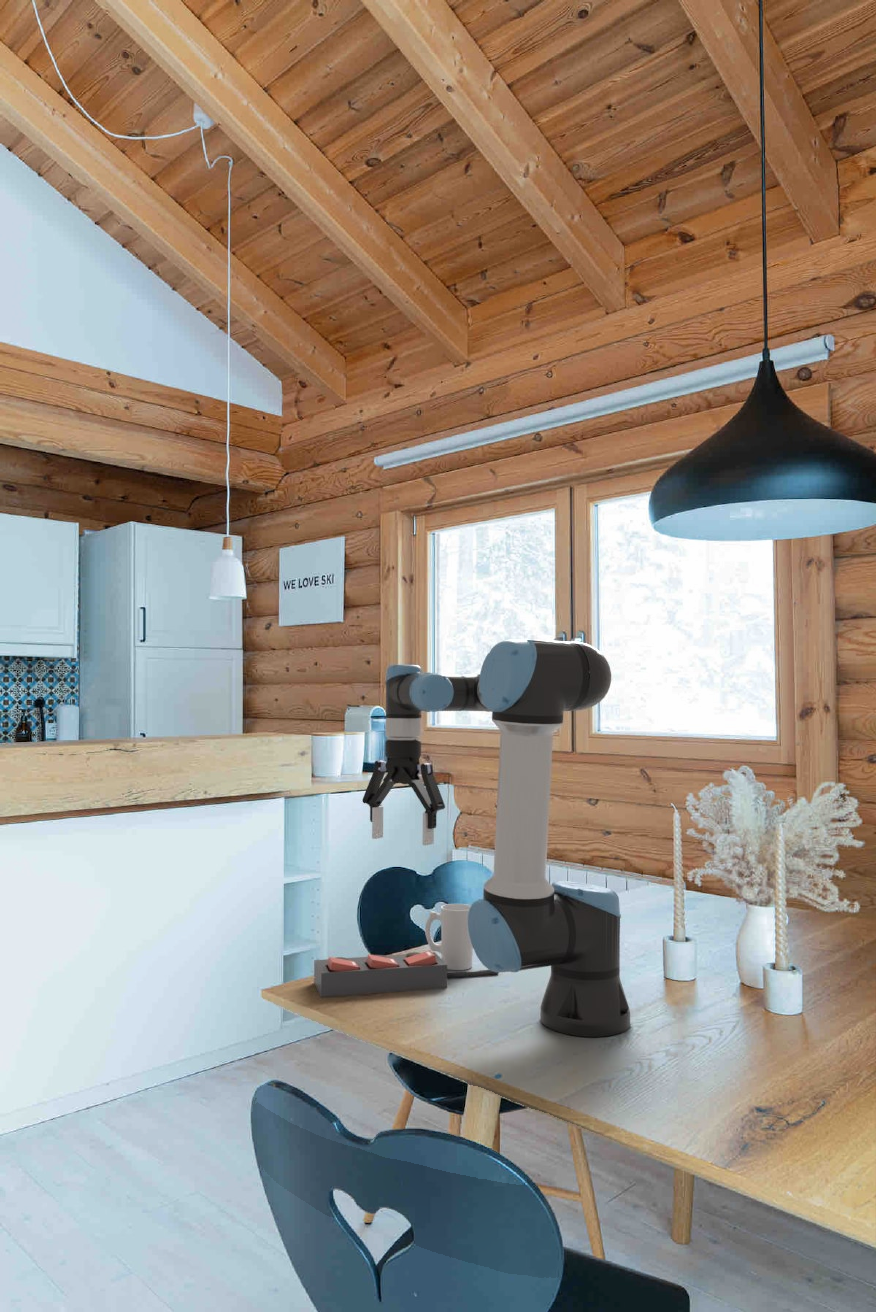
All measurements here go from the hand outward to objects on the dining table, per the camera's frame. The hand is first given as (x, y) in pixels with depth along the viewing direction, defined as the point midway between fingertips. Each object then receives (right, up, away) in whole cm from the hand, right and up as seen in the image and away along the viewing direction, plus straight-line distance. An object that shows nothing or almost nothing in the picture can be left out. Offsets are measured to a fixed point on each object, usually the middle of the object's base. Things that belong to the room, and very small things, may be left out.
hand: (402, 841), depth 198 cm
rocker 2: (-3, -20, -17) cm, 26 cm away
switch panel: (+2, -24, -14) cm, 28 cm away
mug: (+10, -25, -2) cm, 27 cm away
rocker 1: (-10, -20, -19) cm, 29 cm away
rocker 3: (+4, -20, -15) cm, 25 cm away
